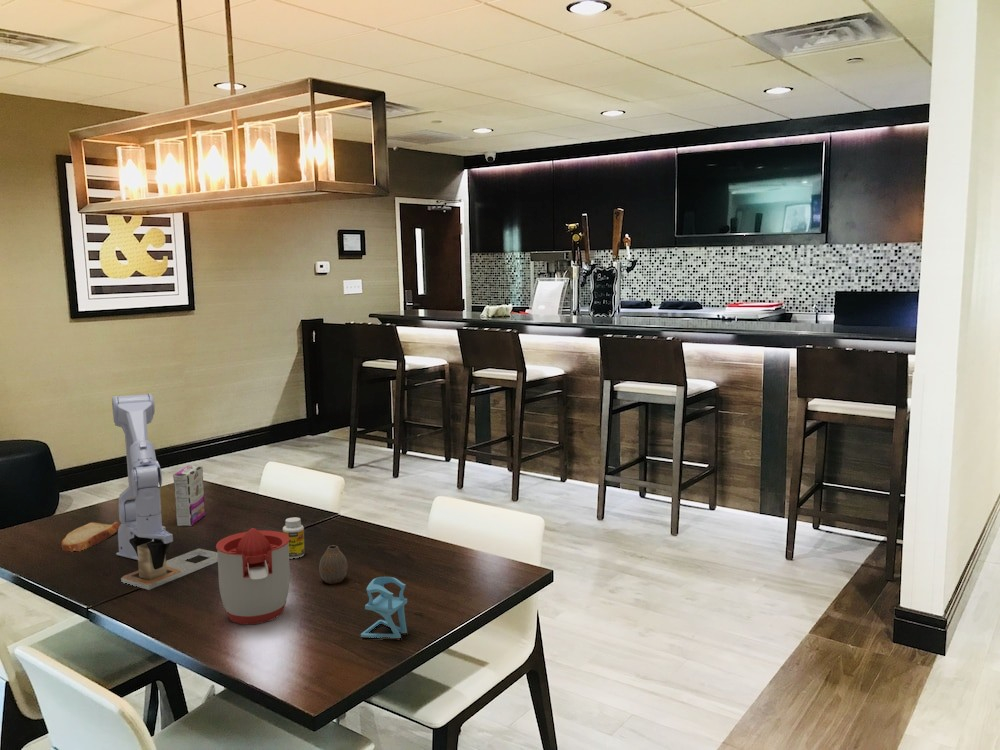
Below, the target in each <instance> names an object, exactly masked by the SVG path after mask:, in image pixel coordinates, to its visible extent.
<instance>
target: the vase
mask: <svg viewBox="0 0 1000 750" xmlns="http://www.w3.org/2000/svg"><path fill="white" fill-rule="evenodd" d="M318 572H319V575H320V577H321V579H322V581H324V582H325V583H326V584H328V585H329V584H331V585H333V584H334V585H335V584H339V583H341V582H342V581H343V580H344V579H345V578H346V575H347V573H348V561H347V558H346V555H345V554H343V552H342V551H341V550H340V549H339V546H337V545H335V544H333V545H328V547H327V549H326V550H325V552H324V553H323V554H322V556H321V558H320V560H319V564H318Z"/></svg>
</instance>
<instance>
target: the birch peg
mask: <svg viewBox="0 0 1000 750" xmlns="http://www.w3.org/2000/svg"><path fill="white" fill-rule="evenodd" d="M151 542H153V541H151ZM148 543H150V542H148ZM137 550H138V560H137V564H138V565H137V566H138V570H139V577H141V579H145V580H149V581H150V580H153V579H155V578H158V577H160V576H163V575H165V574H167V572H166V561H167V556H166V554H167V553H166V554H165V558H164V563H163V567H161V568H159V569H154V567H153V563H152V557H151V553H150V550H149V548H148V546H147V543H145V544H142V545H139V546H137Z"/></svg>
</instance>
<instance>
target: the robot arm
mask: <svg viewBox="0 0 1000 750" xmlns="http://www.w3.org/2000/svg"><path fill="white" fill-rule="evenodd" d="M111 404H112V405H111V407H112V417H113V419H112V420H113V423H114V425H115V426H117V427H119V428H121V429H122V431H123V433H124V441H125V442H124V443H125V452H126V453H125V455H126V464H127V465H126V467H127V479H128V487H127V488H126V489H124V491H122V492H121V493H120V494H119V497H118V518H119V519H118V520H119V523H120V527H119V529H118V531H117V542H118V552H116V553H115V555H116V556H120V557H122V558H123V557H124V558H127V559H133V560H136V561H138V550H137V546H139V545H142V544H145V543H147V546H148V548H149V550H150V553H151V557H152V563H153V567H154V569H159V568H161V567H163V563H164V558H165V554H167V551H168V549H169V546H170V545H171V543H172V542H174V537H173V533H171V532H169V531H167V530H166V526H164V525H163V523H162V522H163V521H162V504H161V503H162V501H161V487H162V484H163V475H162V469H161V465H160V463H159V461H158V460H157V457H156V450H155V445H154V444H153V443H152V442H151V441H149V440H148V438H149V437H148V425H149V424H151V423H152V421H153V420H154V415H155V411H156V410H155V406H156V405H155V399H154V395H153V394H152V393H151V392H149V393H147V394H132V395H131V394H130V395H119V396H118V395H114V396H113V398H112V399H111ZM151 541H153V542H151ZM148 542H150V543H148Z"/></svg>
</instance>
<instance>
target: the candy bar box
mask: <svg viewBox="0 0 1000 750" xmlns="http://www.w3.org/2000/svg"><path fill="white" fill-rule="evenodd" d="M203 473H204V472H203V465H187V466H185V467H183V468H182V469H181V470H179V471H177V472H176V473H173V475H172V477H173V489H174V501H175V504H174V505H175V518H176V526H177V527H193V526H194V525H195V524H196V523H198V522H199V521H200V520H202V518H204V517H205V516H206V503H205V491H204V489H205V488H204V487H205V486H204V474H203ZM203 516H204V517H203ZM198 520H199V521H198ZM197 521H198V522H197ZM192 525H193V526H192Z"/></svg>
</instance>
